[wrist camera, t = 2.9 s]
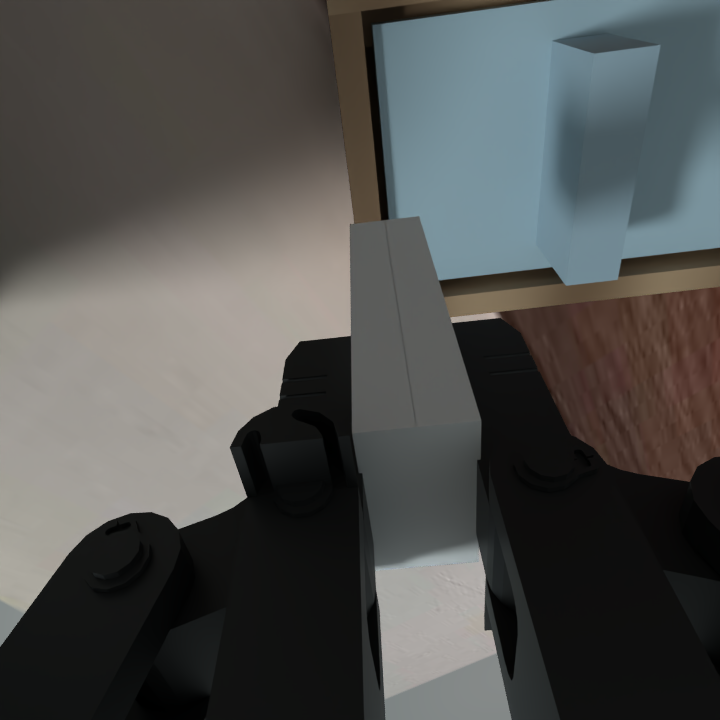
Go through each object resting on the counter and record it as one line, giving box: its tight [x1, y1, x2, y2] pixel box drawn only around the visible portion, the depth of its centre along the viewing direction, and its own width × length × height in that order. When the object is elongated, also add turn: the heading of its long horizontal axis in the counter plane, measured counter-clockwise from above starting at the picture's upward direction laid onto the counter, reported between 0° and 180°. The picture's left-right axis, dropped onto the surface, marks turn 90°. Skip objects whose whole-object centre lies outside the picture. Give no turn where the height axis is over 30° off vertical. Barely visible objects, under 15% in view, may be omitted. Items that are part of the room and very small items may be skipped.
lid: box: [371, 0, 720, 286], centre depth 17 cm, size 14×8×4 cm, turn 96°
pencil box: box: [326, 0, 720, 317], centre depth 18 cm, size 16×11×3 cm
